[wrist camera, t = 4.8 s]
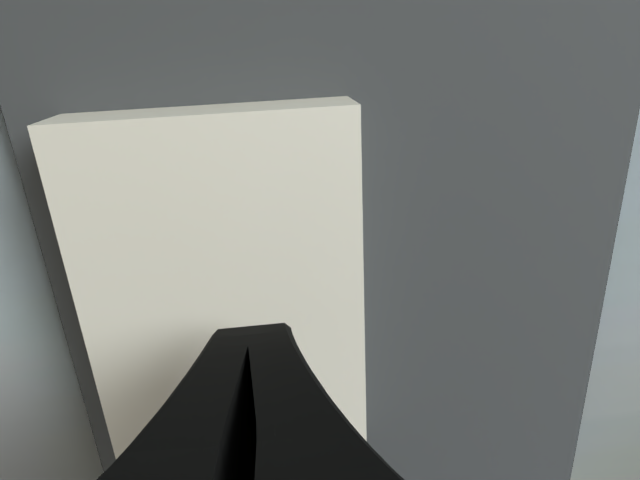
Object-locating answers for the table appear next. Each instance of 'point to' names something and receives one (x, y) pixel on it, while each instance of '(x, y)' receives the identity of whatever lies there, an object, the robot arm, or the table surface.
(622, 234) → the table surface
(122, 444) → the card box
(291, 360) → the robot arm
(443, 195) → the desk mat
